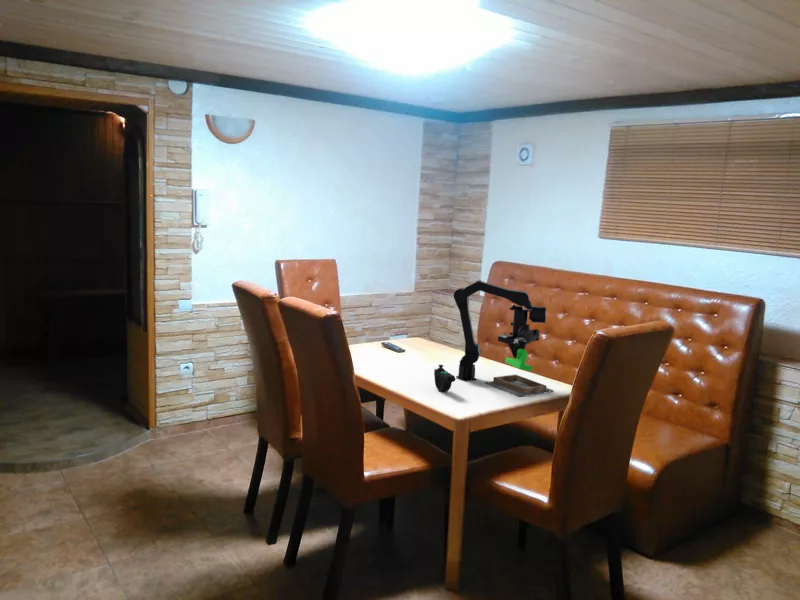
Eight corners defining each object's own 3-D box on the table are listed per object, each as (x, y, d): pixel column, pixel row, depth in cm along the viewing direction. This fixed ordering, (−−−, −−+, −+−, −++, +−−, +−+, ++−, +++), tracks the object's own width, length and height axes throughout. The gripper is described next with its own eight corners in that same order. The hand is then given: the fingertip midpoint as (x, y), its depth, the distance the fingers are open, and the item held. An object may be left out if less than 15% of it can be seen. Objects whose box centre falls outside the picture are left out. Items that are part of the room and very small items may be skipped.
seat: (518, 396, 244) (519, 390, 243) (485, 383, 260) (486, 377, 260) (553, 391, 254) (553, 385, 253) (519, 379, 270) (519, 373, 270)
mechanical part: (531, 371, 257) (536, 353, 256) (519, 369, 254) (524, 350, 254) (516, 364, 268) (521, 346, 267) (504, 361, 266) (509, 343, 265)
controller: (440, 387, 251) (442, 363, 250) (455, 396, 240) (457, 371, 239) (431, 387, 249) (432, 363, 248) (445, 396, 238) (447, 371, 237)
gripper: (517, 326, 246) (514, 364, 248) (550, 323, 256) (546, 360, 258) (498, 321, 255) (495, 358, 257) (530, 318, 265) (527, 354, 268)
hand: (517, 357), depth 260 cm, fingers closed on mechanical part, 2 cm apart
